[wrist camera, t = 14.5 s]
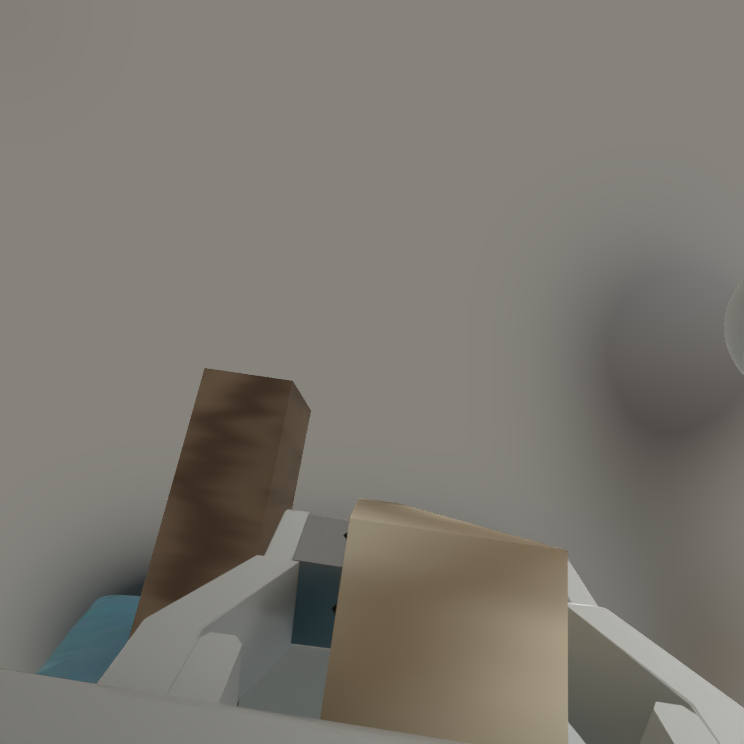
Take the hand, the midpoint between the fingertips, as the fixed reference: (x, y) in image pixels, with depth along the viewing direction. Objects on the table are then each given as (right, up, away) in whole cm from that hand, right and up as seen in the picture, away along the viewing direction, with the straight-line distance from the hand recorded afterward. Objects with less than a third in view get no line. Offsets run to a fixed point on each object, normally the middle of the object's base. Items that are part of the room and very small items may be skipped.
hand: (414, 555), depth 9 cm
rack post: (-13, -22, +15) cm, 30 cm away
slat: (0, -4, +7) cm, 8 cm away
